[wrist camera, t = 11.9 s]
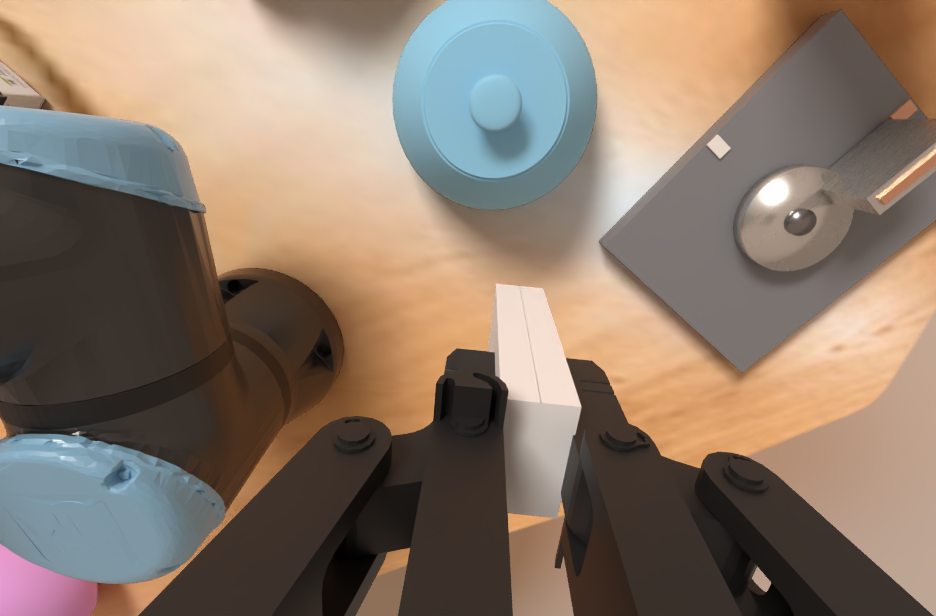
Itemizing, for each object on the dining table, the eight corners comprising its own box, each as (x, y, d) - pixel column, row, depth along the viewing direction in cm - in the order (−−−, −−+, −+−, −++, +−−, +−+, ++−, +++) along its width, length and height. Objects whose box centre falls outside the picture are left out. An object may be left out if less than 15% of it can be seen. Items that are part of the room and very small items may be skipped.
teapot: (161, 581, 59) (84, 689, 48) (109, 631, 63) (27, 742, 52) (13, 492, 54) (-111, 589, 43) (-33, 552, 59) (-157, 655, 47)
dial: (772, 284, 39) (821, 313, 33) (712, 220, 37) (753, 238, 32) (921, 165, 35) (1006, 173, 29) (862, 87, 33) (940, 79, 28)
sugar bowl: (423, 219, 41) (400, 254, 30) (377, 24, 35) (329, -18, 24) (597, 185, 39) (639, 209, 28) (577, -25, 33) (619, -93, 23)
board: (731, 362, 44) (743, 374, 42) (598, 240, 40) (604, 247, 38) (955, 181, 37) (982, 185, 35) (821, 15, 34) (843, 8, 32)
